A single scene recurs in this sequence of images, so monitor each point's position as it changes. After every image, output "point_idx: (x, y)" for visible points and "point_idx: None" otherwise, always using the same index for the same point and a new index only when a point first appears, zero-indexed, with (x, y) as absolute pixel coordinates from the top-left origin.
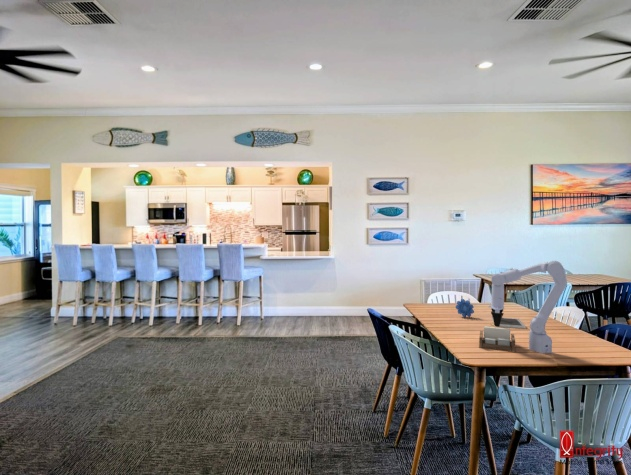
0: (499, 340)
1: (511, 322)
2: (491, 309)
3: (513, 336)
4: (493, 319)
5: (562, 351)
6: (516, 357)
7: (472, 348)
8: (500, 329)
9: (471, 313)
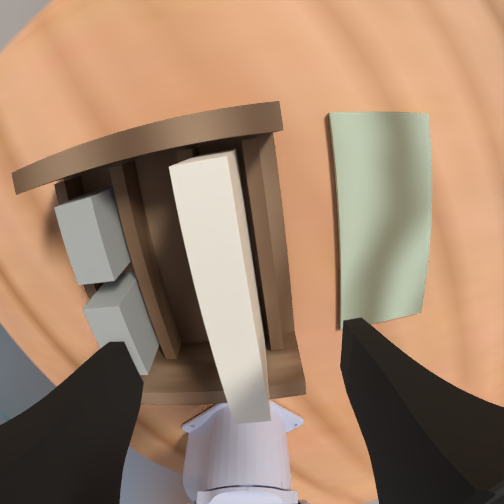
0: (89, 313)
1: None
2: (480, 490)
3: (224, 399)
4: (42, 399)
5: (293, 462)
6: (73, 352)
7: (63, 115)
8: (215, 357)
9: None
